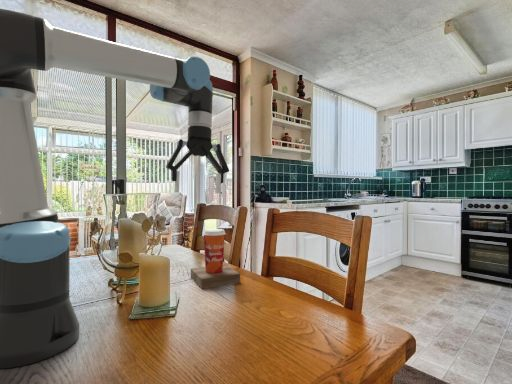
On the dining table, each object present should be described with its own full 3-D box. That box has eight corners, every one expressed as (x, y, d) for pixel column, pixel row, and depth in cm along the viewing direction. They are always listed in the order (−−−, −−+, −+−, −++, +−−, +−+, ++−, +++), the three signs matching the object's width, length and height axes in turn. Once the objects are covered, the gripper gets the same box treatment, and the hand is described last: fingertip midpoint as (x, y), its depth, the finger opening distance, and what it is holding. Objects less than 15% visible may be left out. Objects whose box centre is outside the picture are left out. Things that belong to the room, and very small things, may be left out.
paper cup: (203, 275, 92) (203, 231, 92) (201, 268, 99) (201, 228, 99) (227, 273, 94) (227, 231, 94) (224, 267, 101) (224, 228, 101)
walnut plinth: (240, 282, 94) (240, 273, 94) (201, 288, 88) (201, 279, 88) (225, 272, 105) (225, 264, 105) (190, 277, 99) (190, 268, 99)
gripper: (230, 134, 101) (229, 193, 101) (157, 124, 90) (155, 191, 89) (239, 130, 95) (238, 193, 94) (162, 119, 83) (159, 191, 83)
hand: (198, 192), depth 92 cm, fingers open, 13 cm apart
